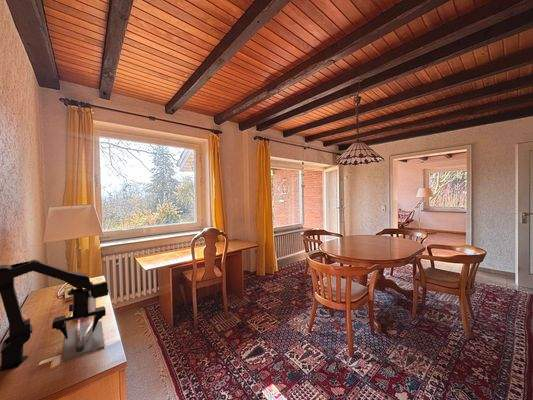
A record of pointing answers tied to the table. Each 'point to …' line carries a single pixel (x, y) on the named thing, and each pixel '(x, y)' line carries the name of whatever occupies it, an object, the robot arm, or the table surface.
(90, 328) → the tongs moving arm
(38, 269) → the robot arm
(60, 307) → the table surface
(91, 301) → the jar
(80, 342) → the tongs fixed arm
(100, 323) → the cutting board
